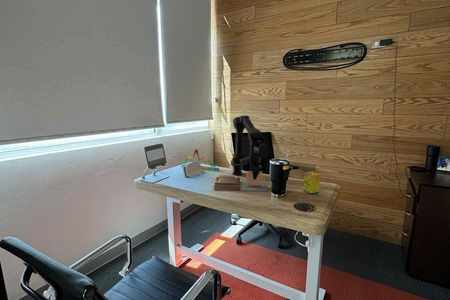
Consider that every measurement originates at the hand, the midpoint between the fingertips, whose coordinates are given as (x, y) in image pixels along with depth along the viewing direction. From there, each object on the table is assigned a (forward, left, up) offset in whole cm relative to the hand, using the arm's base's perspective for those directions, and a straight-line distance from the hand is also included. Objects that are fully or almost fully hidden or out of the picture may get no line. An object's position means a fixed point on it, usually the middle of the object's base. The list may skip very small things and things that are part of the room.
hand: (254, 178), depth 143 cm
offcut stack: (-7, -16, -5) cm, 18 cm away
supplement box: (+7, +31, -5) cm, 32 cm away
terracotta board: (0, 0, -4) cm, 4 cm away
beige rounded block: (-24, -41, -5) cm, 48 cm away
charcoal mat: (0, 0, -5) cm, 5 cm away
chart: (-39, -38, -5) cm, 55 cm away
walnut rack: (-2, -16, -5) cm, 17 cm away
